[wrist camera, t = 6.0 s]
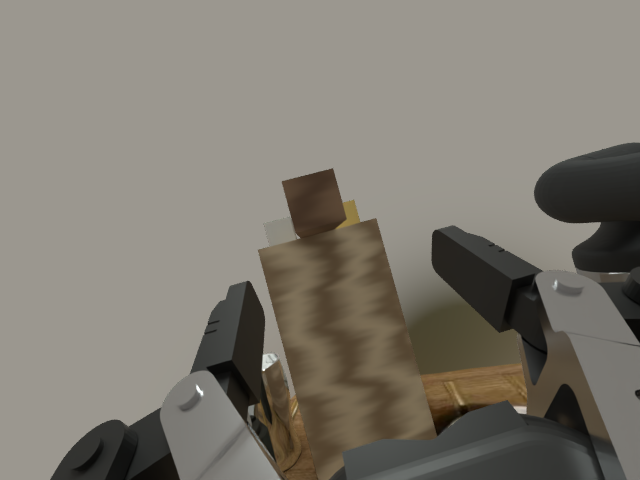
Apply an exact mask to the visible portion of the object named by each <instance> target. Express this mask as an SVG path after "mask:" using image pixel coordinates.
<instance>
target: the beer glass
mask: <svg viewBox="0 0 640 480" xmlns="http://www.w3.org/2000/svg"><path fill="white" fill-rule="evenodd" d="M248 411H249V415H254V416H256V418H257V419H258V418H259V421H261V422H262V423H263V424H264V425H266V426H267V427H268V431H269V435H270V439H271V442H272V446H273V450H274V454H275V458H276V462H277V465H278V466H279V467H280V469H281V470H282V472H284V471H286V470H288V469H289V468H290V467H292V466H293V465H294V464H295V462H296V461H297V460H298V458H299V456H300V453H301V442H300V440H299V437H298V435H297V433H296V431H295V429H294V425H293V421H292V412H291V401H290V392H289V386H288V381H287V377H286V374H285V371H284V368H283V365H282V362H281V360H280V356H279V354H278V353H275V352H270V353H265V354H263V361H262V377H261V392H260V403H258V404H255V405H252V406H249V407H248Z"/></svg>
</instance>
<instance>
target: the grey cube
mask: <svg viewBox="0 0 640 480" xmlns="http://www.w3.org/2000/svg"><path fill="white" fill-rule="evenodd" d="M264 227H265V231H266V235H267V238H268V242H269V246H270V247H271V246H274V245H278V244H282V243H286V242H289V241H293V240H297V237H296V233H295V229H294V226H293V222H292V219H291V218H290V217H287V218H283V219H280V220H275V221H272V222H268V223H264Z"/></svg>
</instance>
